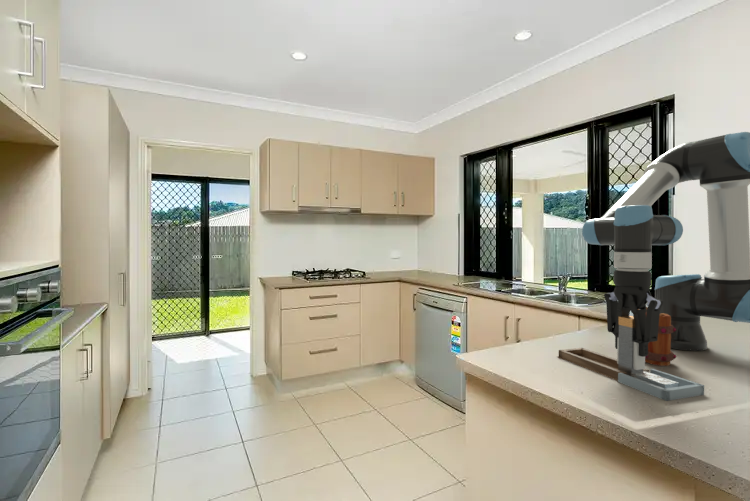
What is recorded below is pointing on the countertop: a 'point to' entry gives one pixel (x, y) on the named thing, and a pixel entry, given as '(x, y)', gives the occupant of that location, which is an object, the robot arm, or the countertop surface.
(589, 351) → the slot board
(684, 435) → the countertop surface
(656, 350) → the mug
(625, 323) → the grey and tan block
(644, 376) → the chip
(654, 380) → the chip
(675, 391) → the tray
